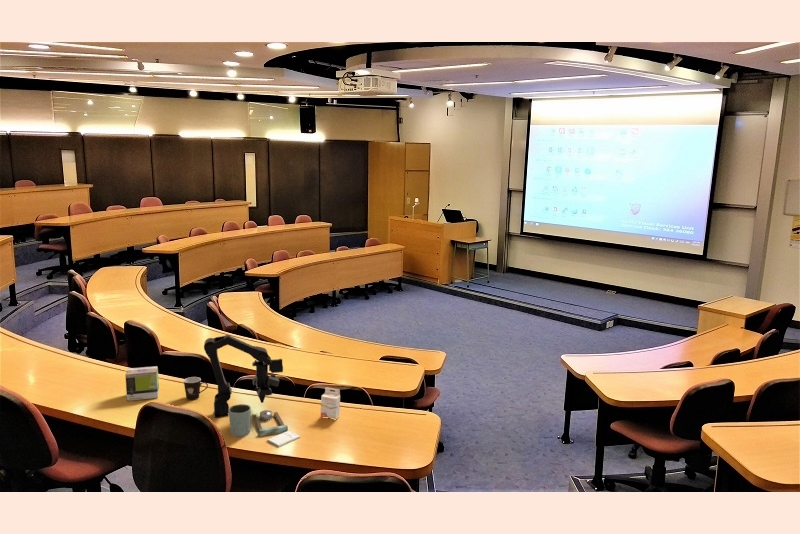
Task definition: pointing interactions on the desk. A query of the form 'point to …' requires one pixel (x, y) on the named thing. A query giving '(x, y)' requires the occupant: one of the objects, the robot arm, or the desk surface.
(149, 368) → the tea box
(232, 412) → the pale green cup
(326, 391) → the ink cartridge box
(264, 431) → the channel
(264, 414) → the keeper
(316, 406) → the desk surface
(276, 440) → the external hard drive
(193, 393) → the coffee mug
